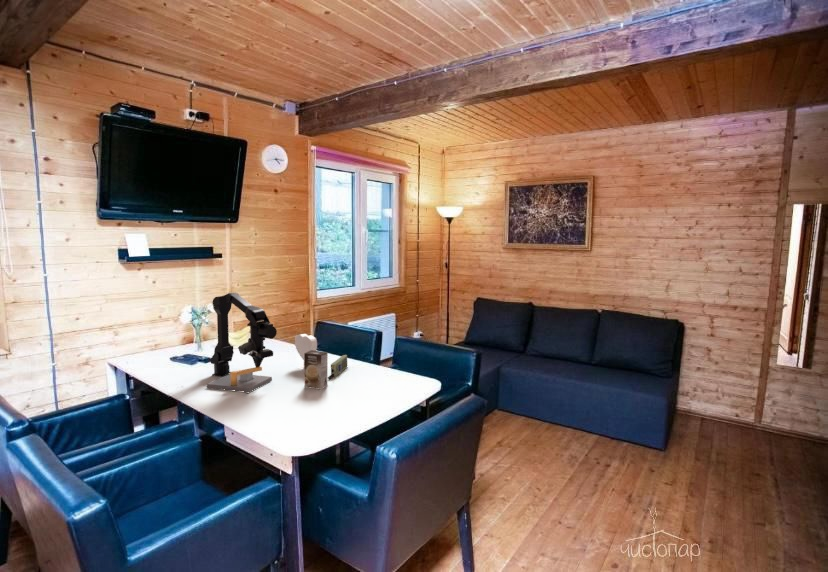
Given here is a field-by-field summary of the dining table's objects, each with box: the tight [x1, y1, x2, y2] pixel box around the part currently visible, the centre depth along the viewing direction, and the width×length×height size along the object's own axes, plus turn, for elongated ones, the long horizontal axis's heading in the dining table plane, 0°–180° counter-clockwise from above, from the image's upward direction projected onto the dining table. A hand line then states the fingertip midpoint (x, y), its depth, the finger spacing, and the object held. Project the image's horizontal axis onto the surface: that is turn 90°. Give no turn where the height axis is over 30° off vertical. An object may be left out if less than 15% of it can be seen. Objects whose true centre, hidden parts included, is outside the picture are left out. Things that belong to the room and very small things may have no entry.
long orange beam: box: [230, 366, 263, 385], centre depth 204 cm, size 3×14×6 cm, turn 135°
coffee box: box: [303, 350, 328, 390], centre depth 205 cm, size 9×6×16 cm
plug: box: [240, 372, 254, 381], centre depth 209 cm, size 4×4×6 cm
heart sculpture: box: [294, 333, 318, 369], centre depth 234 cm, size 16×5×18 cm, turn 47°
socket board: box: [206, 373, 273, 393], centre depth 208 cm, size 22×18×2 cm
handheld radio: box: [327, 354, 348, 380], centre depth 228 cm, size 7×3×25 cm
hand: (257, 368), depth 209 cm, fingers closed
